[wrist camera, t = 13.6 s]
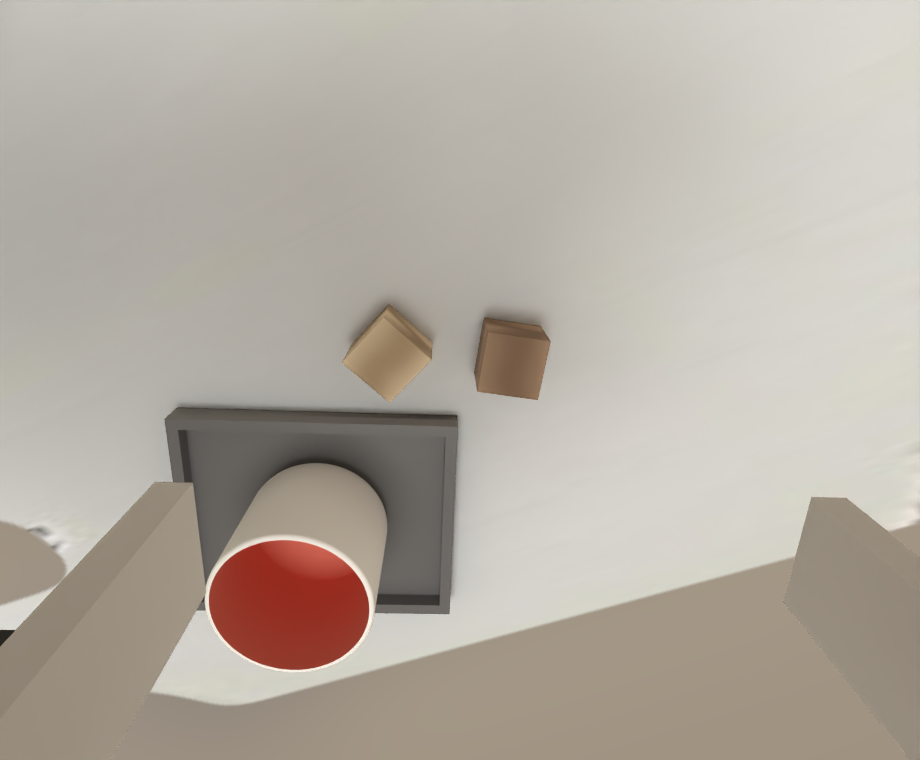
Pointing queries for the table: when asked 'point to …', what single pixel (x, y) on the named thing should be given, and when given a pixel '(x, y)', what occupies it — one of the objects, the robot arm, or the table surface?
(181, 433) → the tray
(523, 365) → the walnut block
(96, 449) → the table surface
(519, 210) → the table surface
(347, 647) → the cup
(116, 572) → the robot arm
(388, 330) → the maple block
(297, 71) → the table surface
